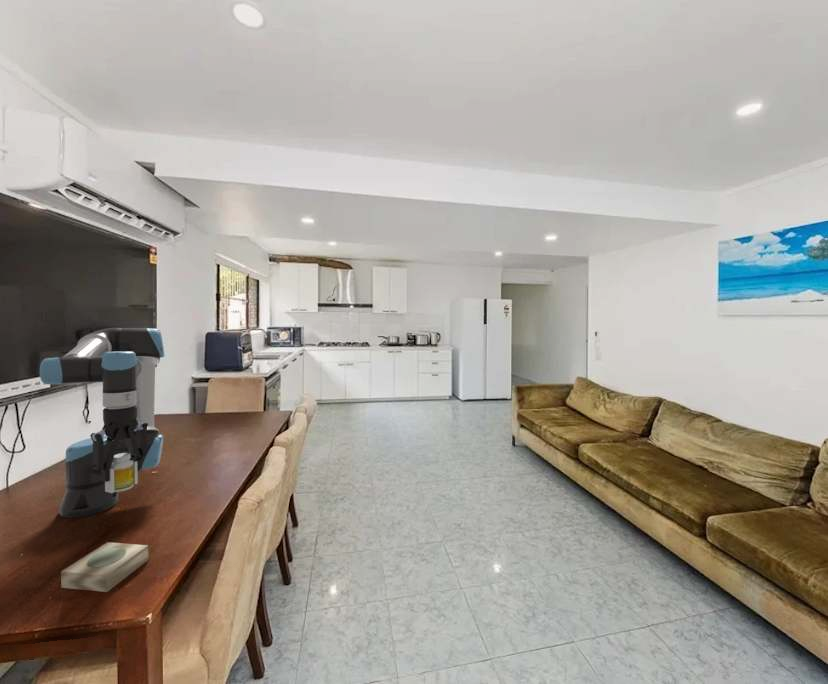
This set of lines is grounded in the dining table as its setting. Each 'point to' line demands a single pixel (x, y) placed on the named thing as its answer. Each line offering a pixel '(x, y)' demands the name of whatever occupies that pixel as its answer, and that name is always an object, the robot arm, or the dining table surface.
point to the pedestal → (104, 567)
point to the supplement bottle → (123, 472)
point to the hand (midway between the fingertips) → (121, 487)
